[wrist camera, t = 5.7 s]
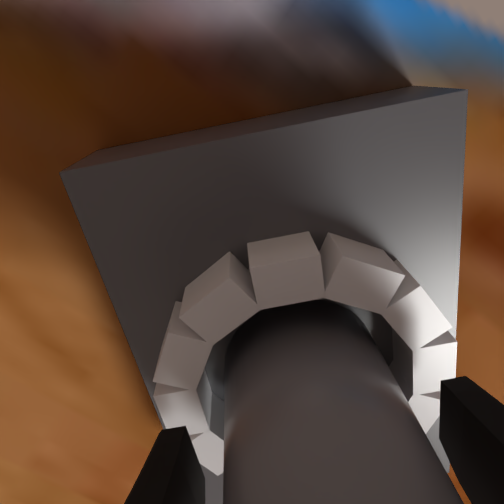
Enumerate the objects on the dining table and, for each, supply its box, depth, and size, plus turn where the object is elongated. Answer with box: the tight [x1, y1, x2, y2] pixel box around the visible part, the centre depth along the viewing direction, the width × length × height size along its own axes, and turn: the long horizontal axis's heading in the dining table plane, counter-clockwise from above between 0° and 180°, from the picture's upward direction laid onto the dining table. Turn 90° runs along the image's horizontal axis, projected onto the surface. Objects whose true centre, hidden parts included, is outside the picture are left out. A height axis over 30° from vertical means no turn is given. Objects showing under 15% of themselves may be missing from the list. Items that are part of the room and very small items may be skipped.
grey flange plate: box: [59, 86, 468, 504], centre depth 13 cm, size 10×14×4 cm
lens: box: [223, 299, 464, 504], centre depth 9 cm, size 5×5×7 cm
